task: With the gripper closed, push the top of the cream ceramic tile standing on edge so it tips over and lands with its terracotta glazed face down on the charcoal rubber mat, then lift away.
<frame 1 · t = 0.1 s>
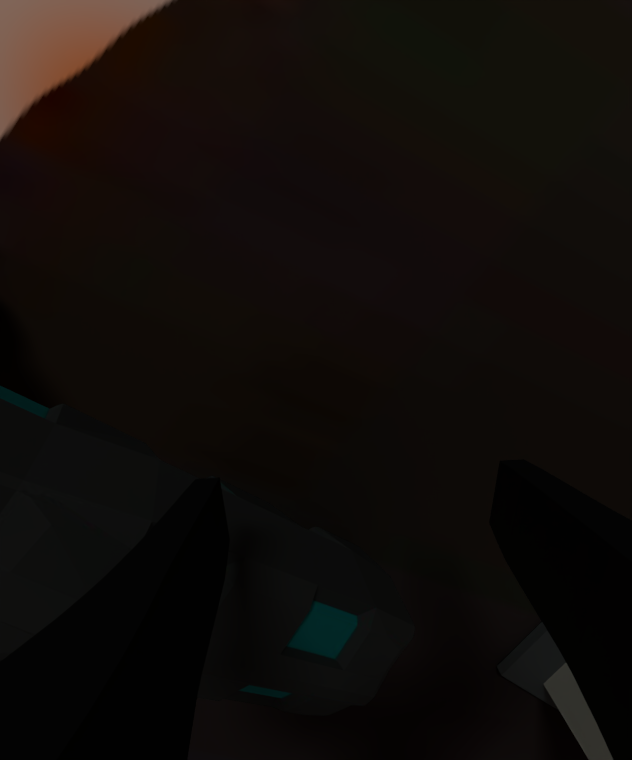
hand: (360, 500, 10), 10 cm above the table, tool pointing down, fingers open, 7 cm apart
tile: (597, 646, 24), point 1 cm above the table, touching mat
gun: (139, 421, 21), on the table
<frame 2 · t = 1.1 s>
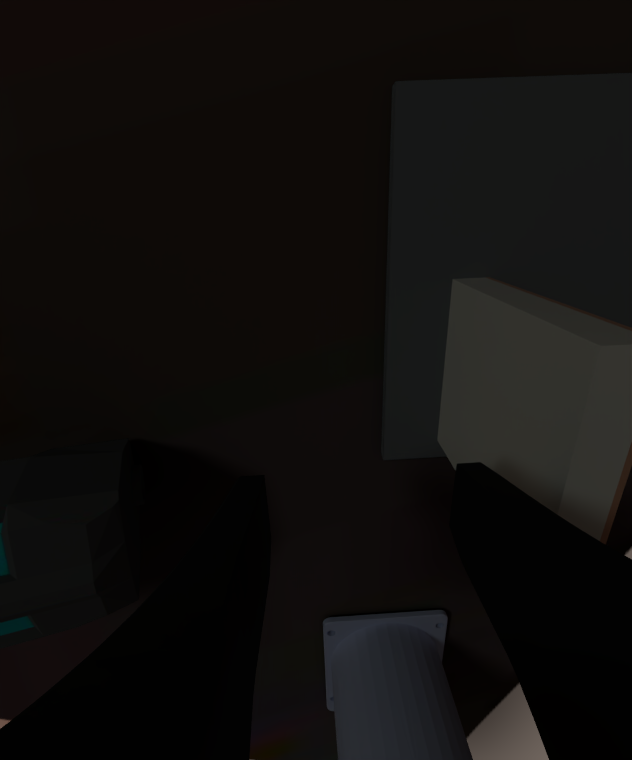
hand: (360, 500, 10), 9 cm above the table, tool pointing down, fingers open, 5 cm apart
tile: (461, 365, 19), point 1 cm above the table, touching mat
mat: (550, 294, 18), on the table
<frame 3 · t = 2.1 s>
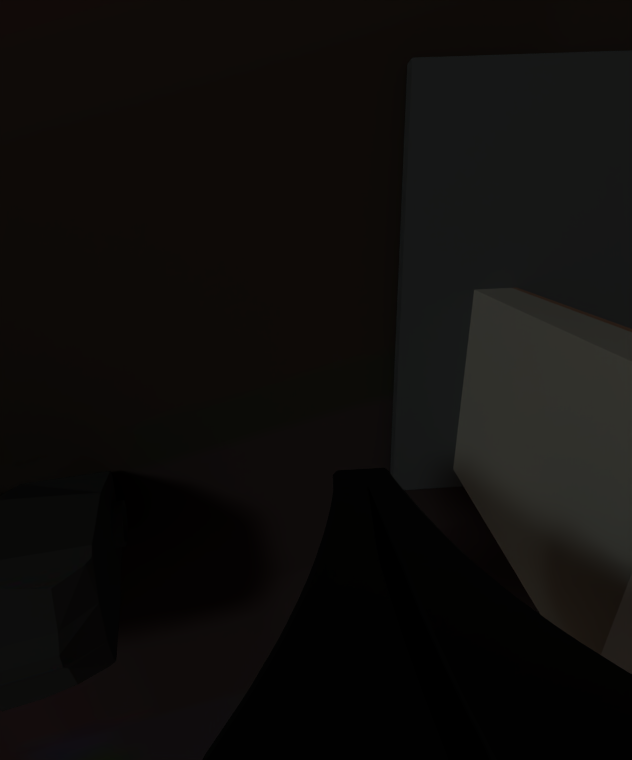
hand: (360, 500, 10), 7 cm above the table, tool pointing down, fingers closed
tile: (481, 386, 16), point 1 cm above the table, touching mat
mat: (584, 306, 16), on the table
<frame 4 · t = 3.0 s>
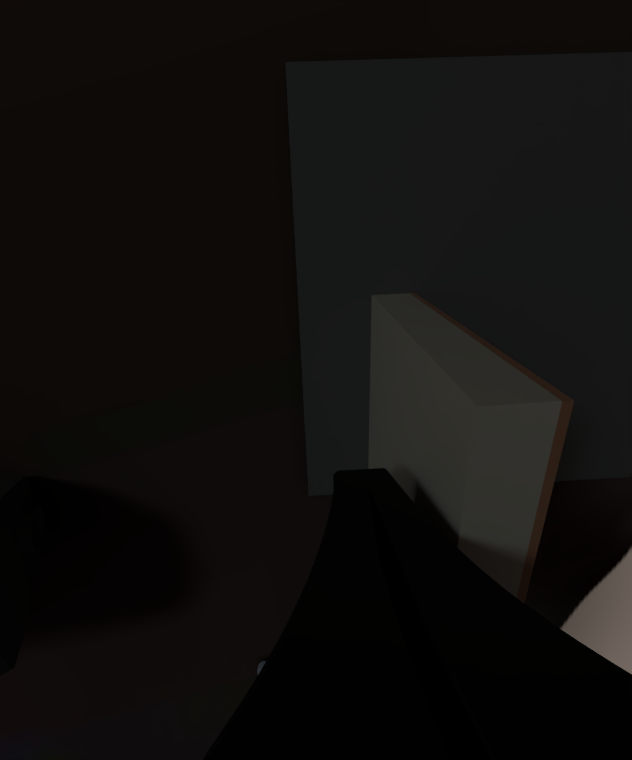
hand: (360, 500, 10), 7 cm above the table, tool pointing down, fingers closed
tile: (389, 392, 16), point 1 cm above the table, touching mat
mat: (489, 311, 16), on the table
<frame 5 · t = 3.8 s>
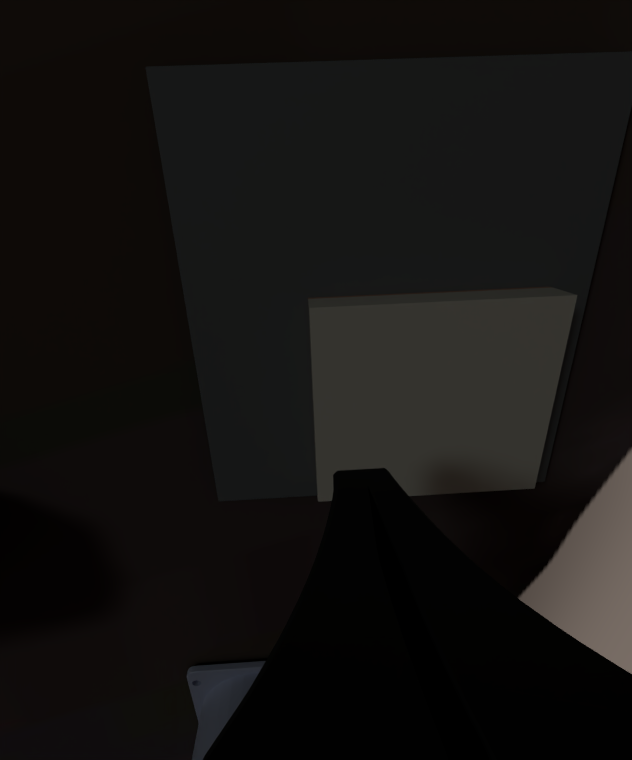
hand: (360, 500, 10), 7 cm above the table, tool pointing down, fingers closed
tile: (313, 405, 15), point 1 cm above the table, tilted 90°, touching mat
mat: (386, 316, 16), on the table
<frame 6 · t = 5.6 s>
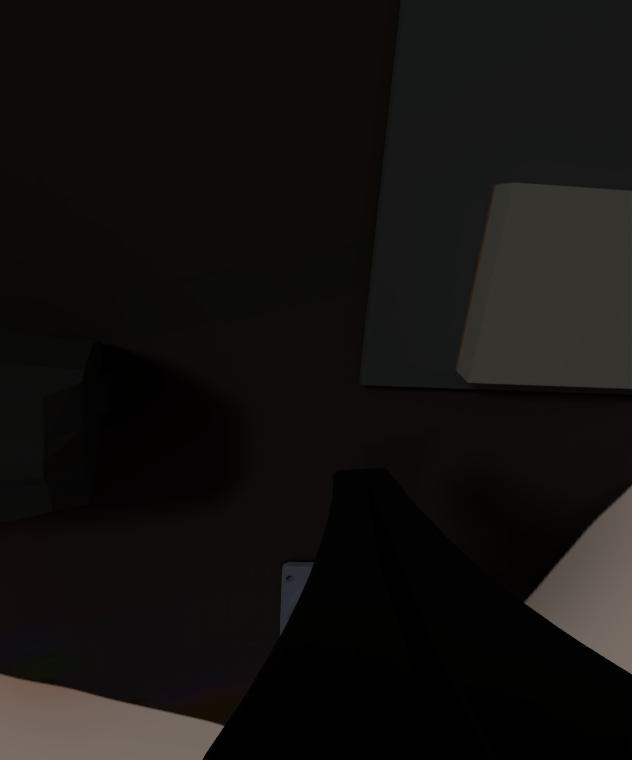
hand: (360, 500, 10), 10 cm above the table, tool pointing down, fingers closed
tile: (480, 288, 17), point 1 cm above the table, tilted 90°, touching mat
mat: (550, 216, 17), on the table
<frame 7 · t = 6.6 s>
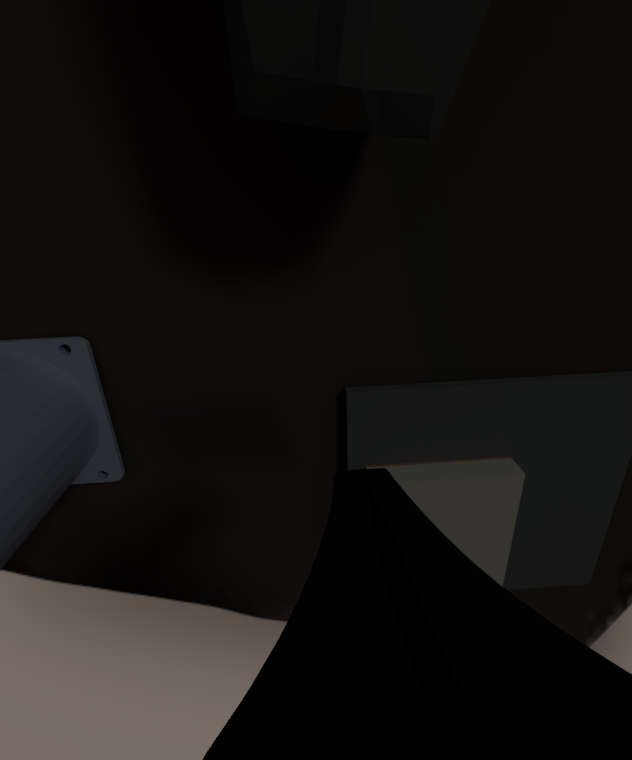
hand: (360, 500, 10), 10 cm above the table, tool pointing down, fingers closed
tile: (443, 469, 21), point 1 cm above the table, tilted 90°, touching mat
mat: (480, 494, 24), on the table
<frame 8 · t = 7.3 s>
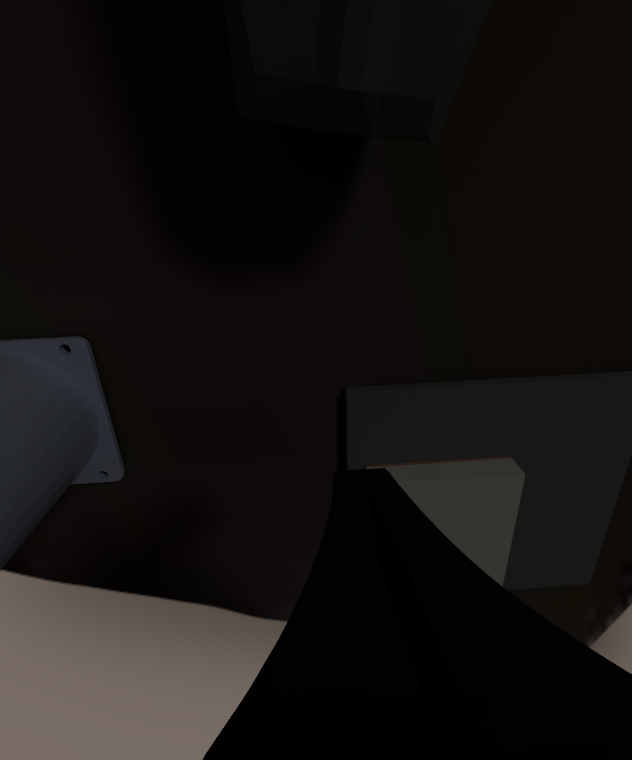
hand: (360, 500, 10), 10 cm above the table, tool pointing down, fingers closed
tile: (443, 469, 21), point 1 cm above the table, tilted 90°, touching mat
mat: (480, 494, 24), on the table
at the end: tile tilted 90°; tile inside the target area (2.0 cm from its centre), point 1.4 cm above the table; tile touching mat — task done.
